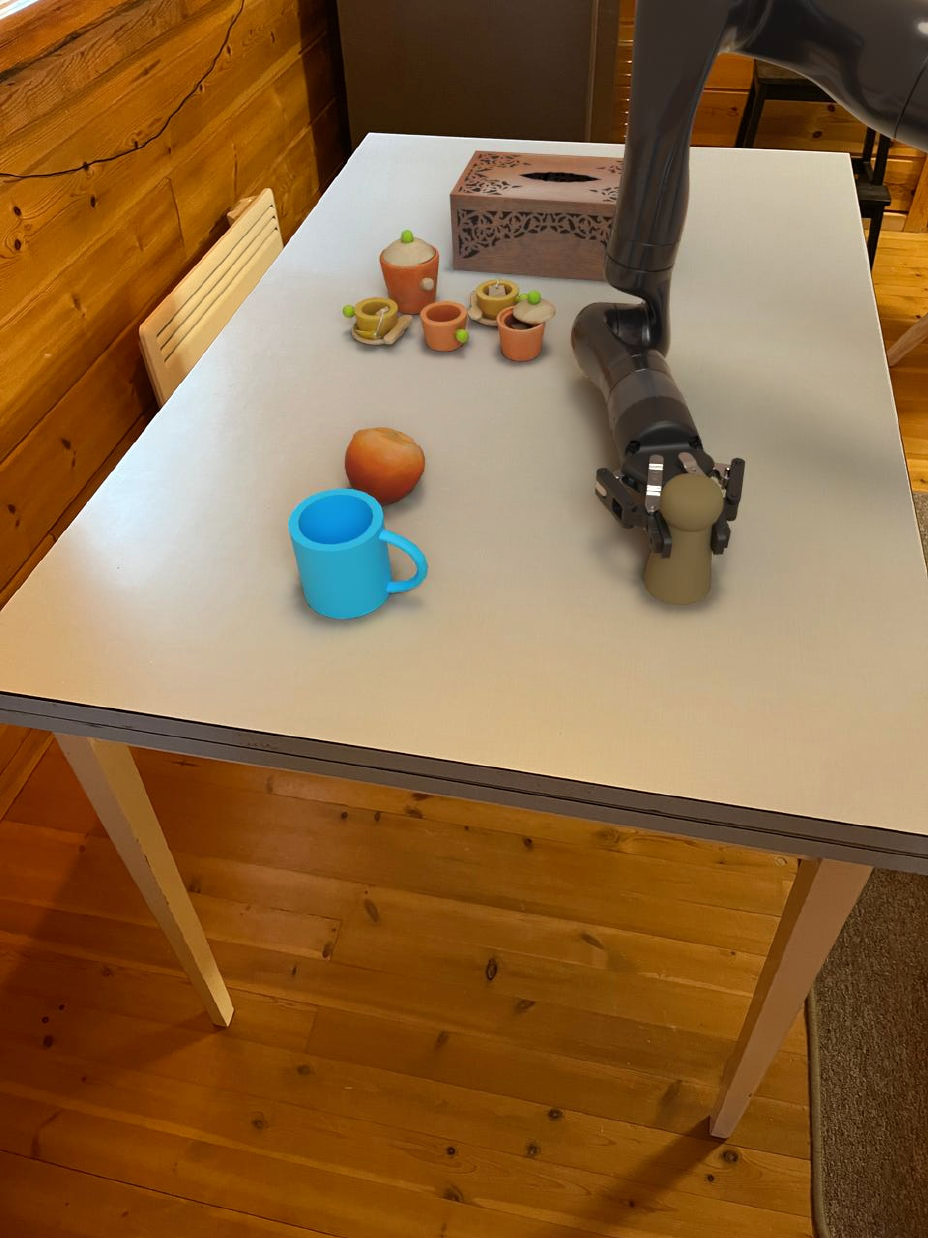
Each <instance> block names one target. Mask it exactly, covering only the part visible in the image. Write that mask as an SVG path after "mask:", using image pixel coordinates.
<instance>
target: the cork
mask: <svg viewBox="0 0 928 1238" xmlns="http://www.w3.org/2000/svg"><path fill="white" fill-rule="evenodd" d="M659 506H660V508H659V512H661V514H662V516H663V518H664V519H665V520H666V522H667V525H668V528H669V531H670V534H671V538H672V549H671V555H670V558H667V559H661V558H660V555H659V553H654V552H653V551H652V550H651V552H650V555H649V558H648V561H647V564H646V567H645V569H644V572H643V580H642V581H643V583H644V586H645V589H646V590H647V591H648V592H649V594H650V595H651V596H653V597H654V598H656V599H657V600H659V601H661V602H664V603H667V604H669V605H678V606H685V605H693V604H694V603H697V602H700V601H701V600H702V601H703V599H704V598H705V597H707V596H708V595H709V592H710V591H711V589H712V567H713V565H712V564H713V552H712V550H711V547H710V543H711V533H712V525H713V524H714V523H715V522H716V521H717V520H718V518H719V516H720V514H721V512H722V510H723V506H724V493H723V490H722V489H721V487H720V484H719V483H718V482H716V481H715V480H714V479H712V477H711V478H709V477H707V476H704V475H701V474H694V473H687V474H681V475H678V476H675V477H674V478H672V479H671V480H670V481H668V482H667V483H666V485H665V486H664V488H663V490H662V492H661V494H660V503H659Z"/></svg>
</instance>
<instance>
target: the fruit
mask: <svg viewBox="0 0 928 1238" xmlns="http://www.w3.org/2000/svg"><path fill="white" fill-rule="evenodd" d="M425 469H426V457H425V454H424V449H423V448H422V447H421V446H420V445H419V444H417V442H416V441H415V440H414V438H413V437H411V436H410V435H407V434H406V433H403V432H402V431H398V430H395V429H393V428H389V427H381V426H379V427H378V426H377V427H371V428H365V429H359V430H357V431H356V432H354V433H353V435H352V438H351V439H350V442H349V444H348V446H347V448H346V451H345V454H344V471H345V474H346V477H347V480H348V483H349V485H350V487H351V489H353V490H357V491H361V492H365V493H366V494H368V495H370V496H372V497H373V498H375V499H376V501H377V502H378V503H379V504H380V505H381V506H382V505H388V504H392V503H393V504H394V503H397V502H399V501H401V500H402V499H404V498H405V497H406V496H407V495H409V494H410V493H411V492H412V491H413V490H414V488H415V487H416V486H417V484H418V483H419V481H420V480H421V478H422V475H423V474H424V472H425Z"/></svg>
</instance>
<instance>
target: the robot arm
mask: <svg viewBox="0 0 928 1238" xmlns="http://www.w3.org/2000/svg"><path fill="white" fill-rule="evenodd" d="M633 15H634V17H633V28H632V46H631V48H632V49H631V69H630V84H629V95H628V109H627V119H626V120H627V121H626V133H625V143H624V152H623V158H624V159H623V165H622V172H621V178H620V184H619V190H618V195H617V200H616V205H615V210H614V214H613V219H612V224H611V229H610V234H609V239H608V243H607V248H606V253H605V258H604V263H603V275H604V278H605V280H606V281H605V282H606V283H607V284H608V286H611V288H612V289H615V290H617V291H619V292H621V293H624V294H627V295H629V296H634V297H636V298H638V299H641V302H640V303H629V302H628V303H627V302H609V301H608V302H607V301H606V302H604V301H597V302H593V303H592V302H591V303H590V304H587V305H585V306H584V307H583V308H581V309H580V311H579V312H578V313H577V314H576V316H575V317H574V319H573V322H572V324H571V330H570V344H571V350H572V353H573V357H574V360H575V361H576V364H577V365H578V367H579V369H580V370H581V371H582V373H583V374H584V375H585V376H586V377H587V379H589V381H590V382H591V383H592V384H593V385H594V386H595V388H597V389H598V391H599V392H600V393H601V394H602V395H603V398H604V402H605V405H606V409H607V412H608V423H609V424H608V425H609V428H610V430H609V431H610V436H611V439H612V440H613V442H614V445H615V448H616V451H617V455H618V459H619V463H620V469H617V470H614V471H611V470H610V469H608V468H607V467H600V468H598V469H597V470H596V473H595V487H594V494H595V496H596V497H597V499H599V501H600V502H601V503H602V504H603V506H604V507H605V508H606V509H607V510H608V512H609V513H610V514H611V515H612V517H613V518H614V519H615V520H616V521H617V523H619V525H620V526H621V527H622V528H623V529H627V530H629V529H630V530H631V529H633V528H634V527H639V528H640V527H641V529H642V530H644V531H645V534H646V539H647V541H648V545H649V547H650V548H649V549H650V550H651V551H653V552H654V553H659V555H660V558H661V559H667V558H670V555H671V549H672V538H671V534H670V531H669V528H668V525H667V522H666V520H665V519H664V518H663V516H662V514H661V511H660V506H659V503H660V494H661V492H662V490H663V488H664V486H665V485H666V483H667V482H668V481H670V480H671V479H672V478H674V477H675V476H678V475H681V474H687V473H694V474H701V475H704V476H707V477H709V478H711V479H712V478H714V479H717V481H718V482H717V483H718V485H719V486H721V487H720V489H721V491H725V494H724V496H723V498H724V506H723V510H722V512H721V514H720V516H719V518H718V520H717V521H716V522H715V523H714V524H713V525H712V533H711V543H710V547H711V550H712V556H721V555H724V552H725V549H728V546H729V542H730V538H731V533H732V531H731V528H730V526H729V523H728V522H734V521H736V519H737V516H738V512H739V507H740V506H739V505H740V503H741V499H742V494H743V485H744V475H745V469H746V461H745V460H744V459H743V458H741V457H734V458H732V459H731V461H730V464H729V463H722V462H715V460H714V458H713V456H711V455H709V454H708V453H707V452H706V451H705V448H704V445H703V441H702V438H701V436H700V434H699V431H698V429H697V426H696V424H695V421H694V419H693V416H692V414H691V411H690V409H689V407H688V404H687V401H686V399H685V397H684V394H683V393H682V391H681V389H680V388H679V387H678V385H677V384H676V381H675V379H674V377H673V374H672V370H671V368H670V366H669V363H668V362H667V360H666V358H667V356H668V355H669V352H670V349H671V344H672V328H671V326H672V325H671V289H672V278H673V272H674V267H675V264H676V259H677V257H678V252H679V249H680V245H681V243H682V242H681V241H682V238H683V233H684V230H685V226H686V222H687V217H688V210H689V203H690V193H691V192H690V189H691V180H690V179H691V177H690V176H691V174H690V172H691V171H690V170H691V169H690V159H691V158H690V157H691V156H690V155H691V143H692V134H693V129H694V124H695V119H696V115H697V111H698V108H699V104H700V101H701V98H702V95H703V92H704V90H705V87H706V85H707V82H708V80H709V77H710V75H711V72H712V69H713V68H714V65H715V62H716V61H717V58H718V57H719V56H721V55H723V54H734V55H739V56H743V57H746V58H747V57H748V58H752V59H755V60H758V61H762V62H766V63H769V64H771V65H774V66H777V67H781V68H784V69H787V70H788V71H791V72H794V73H797V74H798V75H800V76H802V77H804V78H806V79H807V80H809V81H810V82H812V83H814V84H815V85H816V86H817V87H819V88H820V89H821V90H823V91H824V92H825V93H826V94H827V95H829V97H831V99H833V100H834V101H835V102H836V103H837V104H838V105H839V106H841V107H842V108H843V109H844V110H845V111H847V112H848V113H849V114H850V115H851V116H853V117H854V118H856V119H857V120H858V121H860V122H861V123H863V124H864V125H865V126H867V127H868V128H870V129H872V130H874V131H875V132H877V133H879V134H881V135H883V136H885V137H887V138H889V139H891V140H893V141H896V142H898V143H900V144H903V145H906V146H909V147H910V148H914V149H915V150H917V151H921V152H924V153H926V154H928V0H635V6H634V14H633ZM625 487H626V488H625ZM627 489H629V490H631V491H632V492H634V493H636V494H637V495H638V496H640V497H642V498H643V499H644V504H639V503H638V501H637V500H636V499H635V498H634V496H633V495H632V494H631V493H630V492H629V490H627Z"/></svg>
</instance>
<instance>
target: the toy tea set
mask: <svg viewBox="0 0 928 1238" xmlns="http://www.w3.org/2000/svg"><path fill="white" fill-rule="evenodd" d="M439 253H440V252H439V251H438V249H437V248H436V247H435V246H434V245H433V244H431V243H428V242H427V241H425V240H424V239H422V238H419V237H416V236H414V233H413V232H412V231H411V230H409V229H405V230H404V231H403V230H402V233H401V235H400V237H399V238H398V239H396V240H394V241H392V242H391V243H390V244H389V245H387V246H386V247H385V248H383V250H382V251H381V252H380V254H379V256H378V257H379V260H378V261H379V264H380V269H381V273H382V276H383V279H384V284H385V289H386V291H387V294H388V298H387V297H381V296H377V297H376V296H375V297H369V298H365V299H362V300H360V301H359V302H357V303H356V304H355V305H354V306H353V305H351V304H346V305H344V306H343V308H342V314H343V316H344V317H345V318H347V319H351V318H353V317H355V322H354V323H353V324H352V326H351V335H352V337H353V338H354V339H355V340H356V341H358V342H359V343H362V344H365V345H373V346H374V345H375V346H376V345H377V346H379V345H392V344H394V343H395V342H396V341H397V340H398V339H400V338H401V337H402V336H403V335H404V333H405V331H406V328H409V327H410V326H411V325H412V324H413V317H412V315H416V314H419V319H420V323H421V326H422V330H423V335H424V338H425V342H426V345H427V347H428V348H430V349H431V350H434V351H436V352H451V351H455V350H457V349H459V348H460V347H461V346H462V345H463V344H464V343H466V342H467V341H469V338H470V333H469V332H468V330H466V328H467V321H468V319H469V320H472V321H476V322H478V323H479V324H482V325H486V326H490V327H491V326H492V327H494V326H495V327H497V331H498V336H499V342H500V346H501V351H502V354H503V356H505V357H506V358H507V359H509V360H512V361H516V362H517V361H518V362H525V361H530V360H533V359H536V357H538V355H540V353H541V350H542V345H543V340H544V334H545V329H546V323H547V322H548V321H550V320H552V319H553V318H554V317H555V316H556V314H557V313H556V312H557V309H556V307H555V304H553V303H552V302H550V301H549V300H547V299H545V298H542V297H541V296H542V295H541V293H540V292H539V291H538V290H531V291H529V293H528V294H527V293H522V294H520V287H519V286H518V284H517V283H516V282H514V281H512V280H508V279H500V278H499V277H497V278H495V279H489V280H486V281H483V282H481V283H480V284H478V286H476V288H475V290H473V291H471V292H470V294H469V302H470V308H469V309H467V308H466V307H465V305H463V304H461V303H459V302H456V301H451V300H441V301H436V298H437V286H438V275H439V266H440V265H439V264H440V254H439ZM398 313H401V314H402V315H400V316H398Z"/></svg>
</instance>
